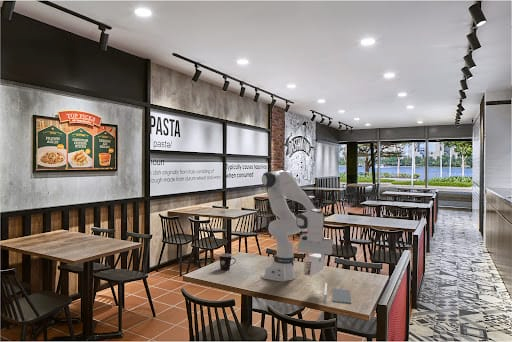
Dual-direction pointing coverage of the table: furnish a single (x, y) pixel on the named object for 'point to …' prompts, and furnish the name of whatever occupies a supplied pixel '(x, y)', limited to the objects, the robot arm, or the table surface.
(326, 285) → the low wall
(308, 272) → the white boxy piece
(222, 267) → the coffee mug
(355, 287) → the table surface
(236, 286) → the table surface
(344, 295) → the mat
